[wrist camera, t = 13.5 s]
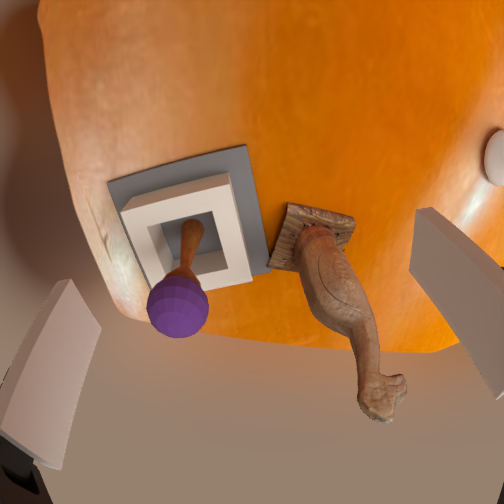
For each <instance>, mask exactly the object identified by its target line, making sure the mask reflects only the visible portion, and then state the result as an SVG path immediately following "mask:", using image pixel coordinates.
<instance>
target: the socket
mask: <svg viewBox="0 0 504 504" xmlns="http://www.w3.org/2000/svg"><path fill="white" fill-rule="evenodd" d="M107 185H108V188H109V191H110V194H111V196H112V199H113V202H114V205H115V207H116V210H117V212H118V215H119V218H120V220H121V223H122V225H123V228H124V230H125V233H126V235H127V238H128V240H129V242H130V245H131V247H132V250H133V252H134V254H135V257H136V259H137V261H138V264H139V266H140V268H141V270H142V273H143V275H144V277H145V279H146V281H147V283H148V286H149V288H150V290H152V289H153V287H154V286H155V285H156V284H157V283H158V282H160V281H161V280H163V278H164V277H165V276H166V274H168V273H169V272H171V271H173V270H175V269H176V268H178V267H180V252H181V228H182V224H183V223H184V222H185V221H186V220H188V219H197V220H199V221H200V222H202V224H203V226H204V233H203V236H202V239H201V241H200V244H199V246H198V249H197V251H196V254H195V256H194V259H193V262H192V264H191V267H190V269H191V271H192V272H193V273H194V274H195V276H196V277H197V278H198V280H199V281H200V284H201V288H202V290H203V291H206V290H211V289H216V288H221V287H226V286H231V285H236V284H241V283H246V282H251V281H253V279H252V276H255V275H259V274H264V273H269V272H272V269H271V268H267V267H266V266H267V264H268V263H269V261H270V258H269V253H268V248H267V243H266V238H265V233H264V228H263V223H262V218H261V213H260V208H259V203H258V198H257V193H256V188H255V184H254V179H253V174H252V169H251V164H250V160H249V155H248V150H247V146H246V145H241V146H236V147H232V148H227V149H223V150H219V151H214V152H210V153H206V154H202V155H198V156H194V157H190V158H186V159H183V160H179V161H175V162H172V163H168V164H164V165H161V166H157V167H154V168H151V169H147V170H144V171H141V172H138V173H134V174H131V175H128V176H125V177H122V178H119V179H116V180H113V181H110V182H108V183H107Z"/></svg>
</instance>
